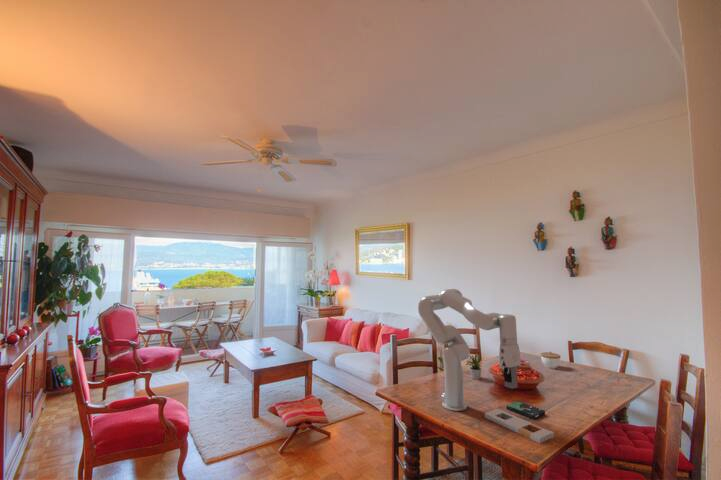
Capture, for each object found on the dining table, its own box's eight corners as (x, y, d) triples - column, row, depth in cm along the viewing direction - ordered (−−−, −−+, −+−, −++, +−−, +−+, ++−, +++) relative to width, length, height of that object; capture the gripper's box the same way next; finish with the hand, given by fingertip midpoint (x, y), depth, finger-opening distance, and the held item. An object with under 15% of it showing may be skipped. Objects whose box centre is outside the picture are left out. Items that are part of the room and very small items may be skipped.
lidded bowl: (545, 363, 257) (544, 348, 258) (563, 367, 247) (563, 352, 248) (538, 367, 249) (537, 351, 250) (556, 371, 239) (556, 355, 240)
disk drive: (545, 416, 169) (517, 405, 181) (545, 410, 169) (517, 400, 181) (534, 421, 163) (505, 410, 175) (533, 415, 163) (505, 404, 175)
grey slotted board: (484, 417, 166) (484, 413, 166) (498, 413, 171) (498, 408, 171) (539, 443, 142) (539, 438, 142) (553, 437, 147) (553, 432, 147)
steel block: (504, 386, 161) (503, 364, 162) (510, 384, 163) (508, 363, 164) (512, 388, 157) (510, 366, 158) (517, 387, 159) (516, 365, 160)
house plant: (464, 373, 234) (463, 348, 235) (485, 375, 230) (484, 350, 231) (463, 379, 221) (463, 354, 222) (486, 382, 216) (485, 355, 218)
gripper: (504, 344, 154) (506, 386, 153) (526, 340, 163) (529, 379, 161) (490, 341, 161) (492, 382, 159) (512, 337, 169) (514, 375, 168)
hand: (510, 380), depth 160 cm, fingers closed on steel block, 4 cm apart
